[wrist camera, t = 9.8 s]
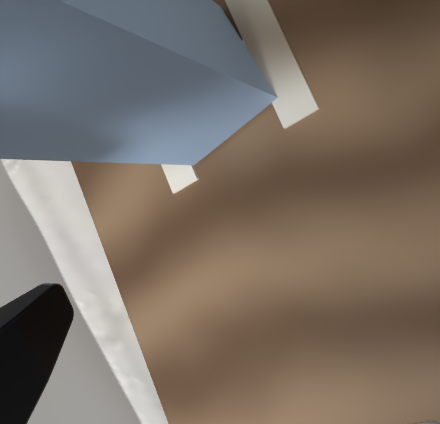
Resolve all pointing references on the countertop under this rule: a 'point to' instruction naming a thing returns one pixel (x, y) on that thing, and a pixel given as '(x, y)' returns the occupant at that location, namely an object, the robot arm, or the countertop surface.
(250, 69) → the light blue block
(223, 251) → the board
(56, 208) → the countertop surface
